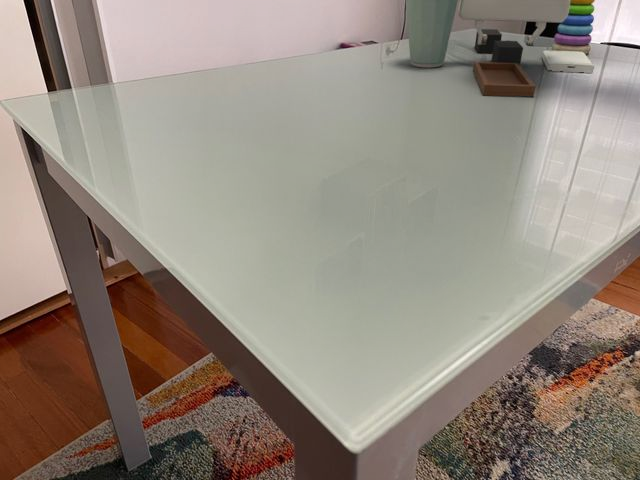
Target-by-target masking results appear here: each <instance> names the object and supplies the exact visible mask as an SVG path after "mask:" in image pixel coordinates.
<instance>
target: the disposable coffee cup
mask: <svg viewBox="0 0 640 480" xmlns="http://www.w3.org/2000/svg"><path fill="white" fill-rule="evenodd" d="M458 1H459V0H405V10H406V23H407V25H406V26H407V35H408V36H407V37H408V47H409V49H408V50H409V60H410V62H411V66H413V67H417V68H438V67H439V68H440V67H442V66H443V65H444V64H443V63H444V62H445V60H446V56H447V55H446V54H447V50H448V47H449V41H450V37H451V33H452V28H453V24H454V20H455V15H456V10H457V6H458V3H459V2H458Z"/></svg>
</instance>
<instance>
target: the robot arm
mask: <svg viewBox="0 0 640 480" xmlns="http://www.w3.org/2000/svg"><path fill="white" fill-rule="evenodd" d="M570 1H571V0H459V2H458V3H459V4H458V10H457V14H458V16H459V18H460V19H461V20H463V21H474V27H475V29H476V33H477V32H478V34H479V36H478V45H486V40H487V35H486V34H483V33H482V31H481V29H482V27H483V26H484V22H485V21H490V22H491V21H494V22H496V21H497V22H526V23H527V22H529V23H531V22H532V23H535V27H537V28H536V29H535V30H534V31H533V33H532V34H531V35H527V37H526V42H525V43H526V44H525V46H526V47H536V45H537V40H538V38H539V37H540V35H541V34H542V33H543V32H544V30H545V29H546V27H547V23H562V22H563V21H564V20H565V19H566V18H567V17H568V13H569V8H570Z"/></svg>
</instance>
